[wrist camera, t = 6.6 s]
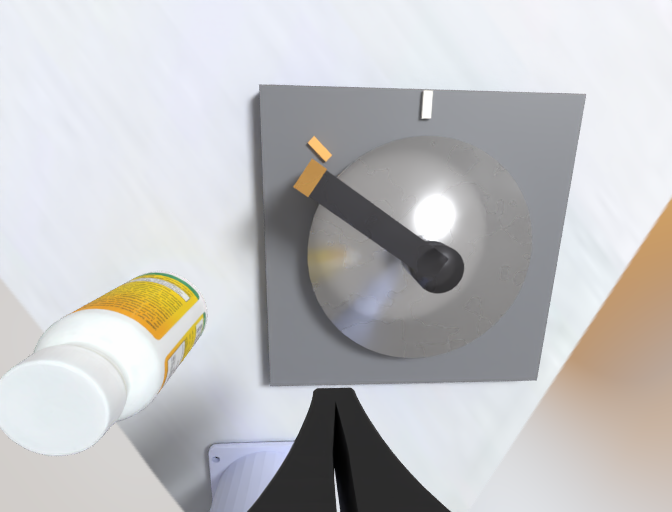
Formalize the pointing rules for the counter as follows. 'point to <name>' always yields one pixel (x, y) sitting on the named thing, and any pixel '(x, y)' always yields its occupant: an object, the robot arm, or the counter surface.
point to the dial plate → (358, 139)
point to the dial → (417, 245)
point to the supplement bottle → (101, 364)
